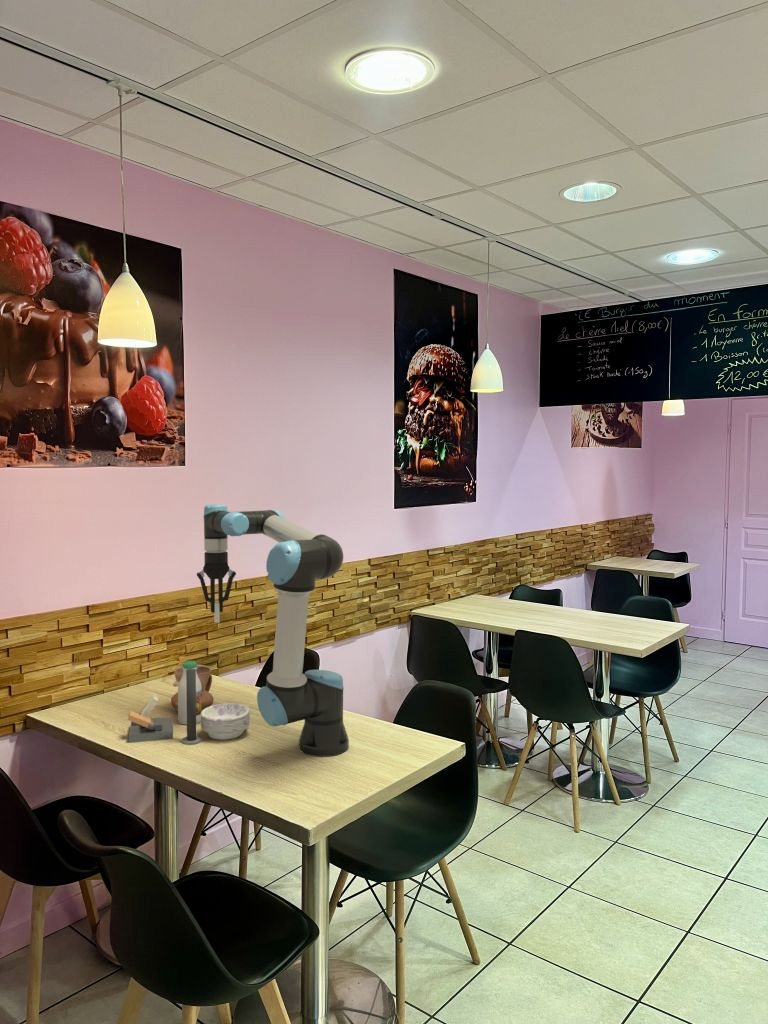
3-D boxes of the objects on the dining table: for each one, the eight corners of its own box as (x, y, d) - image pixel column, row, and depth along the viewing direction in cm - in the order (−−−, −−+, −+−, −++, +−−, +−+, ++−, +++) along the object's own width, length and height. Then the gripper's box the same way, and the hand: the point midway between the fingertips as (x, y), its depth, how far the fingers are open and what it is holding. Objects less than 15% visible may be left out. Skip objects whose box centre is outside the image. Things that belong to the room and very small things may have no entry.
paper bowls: (200, 745, 231) (200, 720, 230) (201, 728, 245) (200, 704, 245) (251, 741, 234) (251, 716, 234) (248, 725, 249) (248, 701, 248)
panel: (173, 738, 236) (173, 730, 236) (129, 742, 232) (129, 734, 232) (173, 723, 249) (173, 716, 249) (131, 727, 246) (131, 719, 246)
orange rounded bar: (155, 725, 236) (130, 714, 234) (152, 730, 236) (127, 720, 233) (156, 720, 240) (130, 710, 238) (153, 725, 240) (127, 715, 238)
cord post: (202, 743, 232) (201, 672, 230) (181, 745, 230) (181, 673, 229) (201, 736, 238) (200, 666, 236) (181, 738, 236) (180, 668, 235)
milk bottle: (177, 726, 247) (176, 665, 246) (178, 718, 255) (178, 659, 253) (201, 724, 249) (201, 664, 247) (202, 716, 256) (202, 658, 255)
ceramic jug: (189, 719, 254) (190, 677, 253) (158, 711, 261) (159, 670, 260) (226, 706, 269) (227, 666, 268) (196, 698, 276) (197, 660, 276)
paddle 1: (142, 724, 242) (158, 701, 242) (137, 721, 241) (153, 698, 242) (143, 719, 246) (158, 697, 247) (138, 716, 246) (153, 694, 246)
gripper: (234, 549, 256) (235, 618, 257) (195, 550, 252) (195, 621, 253) (237, 551, 248) (238, 623, 250) (196, 553, 244) (197, 625, 246)
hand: (216, 621), depth 251 cm, fingers closed
